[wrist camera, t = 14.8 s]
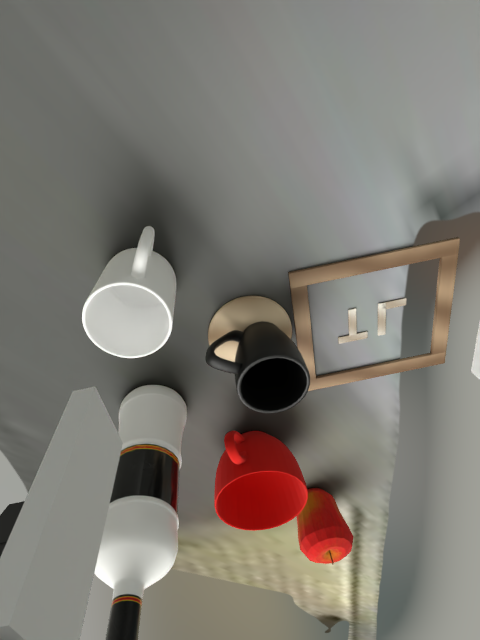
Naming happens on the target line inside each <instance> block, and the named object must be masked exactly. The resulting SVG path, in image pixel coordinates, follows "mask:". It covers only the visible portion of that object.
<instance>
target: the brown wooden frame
mask: <svg viewBox="0 0 480 640" xmlns="http://www.w3.org/2000/svg"><path fill="white" fill-rule="evenodd" d="M459 243H460V238H452V239H447V240H442V241H437V242H433V243H427V244H423V245H418V246H413V247H408V248H403V249H398V250H393V251H388V252H384V253H379V254H374V255H369V256H364V257H359V258H354V259H350V260H345V261H340V262H335V263H330V264H325V265H321V266H316V267H311V268H306V269H301V270H296V271H291V272H288V274H289V282H290V290H291V298H292V307H293V315H294V323H295V331H296V339H297V348H298V350H299V351H300V353H301V355H302V357H303V359H304V361H305V364H306V366H307V368H308V371H309V374H310V386H309V389H308V391H311V390H316V389H321V388H326V387H331V386H335V385H340V384H345V383H350V382H355V381H360V380H365V379H369V378H374V377H379V376H384V375H389V374H394V373H399V372H404V371H408V370H413V369H418V368H423V367H428V366H433V365H438V364H442V363H445V355H446V347H447V339H448V330H449V323H450V314H451V307H452V299H453V291H454V283H455V275H456V267H457V259H458V251H459ZM436 258H440V260H439V270H438V281H437V291H436V301H435V311H434V321H433V331H432V341H431V351H430V353H427V354H423V355H418V356H413V357H408V358H403V359H398V360H393V361H388V362H384V363H379V364H374V365H369V366H364V367H359V368H354V369H349V370H345V371H340V372H335V373H330V374H325V375H320V376H316V375H315V364H314V354H313V344H312V333H311V323H310V312H309V302H308V292H307V285H310V284H315V283H320V282H325V281H330V280H335V279H339V278H344V277H349V276H354V275H359V274H364V273H369V272H373V271H378V270H383V269H388V268H393V267H398V266H402V265H407V264H412V263H417V262H421V261H427V260H431V259H436ZM404 305H406V298H403V299H398V300H393V301H388V302H383V303H378V336H379V335H384V334H385V326H386V309H389V308H394V307H399V306H404ZM348 321H349V335H346V336H342V337H338V343H339V344H340V343H345V342H350V341H355V340H360V339H365V338H367V331H366V332H361V333H357V329H356V308H354V309H349V310H348Z"/></svg>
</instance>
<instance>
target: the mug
mask: <svg viewBox="0 0 480 640" xmlns="http://www.w3.org/2000/svg"><path fill="white" fill-rule="evenodd" d="M228 341H236V342H238V343H239V344H238V347H237V351H236V356H235V362H232V361H229V360H225V359H223V358H220V357H218V356H217V355H216V354H215V352H214V351H215V349H217V348H218V347H219V346H220V345H222V344H223V343H225V342H228ZM206 362H207V364H208V365H210V366H211V367H213V368H215V369H218V370H221V371H225V372H229V373H234V374H235V381H236V388H237V393H238V396H239V398H240V400H241V401H242V402H243V403H244V404H245V405H246V406H247V407H248V408H250V409H252V410H254V411H257V412H261V413H277V412H281V411H285V410H287V409H289V408H291V407H293V406H295V405H296V404H298V403H299V402H300V401H301V400H302V399H303V398H304V397H305V395H306V393H307V392H308V389H309V386H310V374H309V371H308V368H307V366H306V364H305V361H304V359H303V357H302V355H301V353H300V351H299V350H298V348H297V347H296V345H295V344H294V342H293V341H292V340H291V339H290V338H289V337H288V336H287V335H286V334H285V333H284V332H283V331H282V330H280V329H279V328H278V327H277V326H276V325H274V324H273V323H270V322H264V321H261V322H256V323H253V324H251V325H249V326H248V327H247V328H246V329H245V330H244V331H243V332H242V331H239V330H233V331H230V332H228V333H227V334H225V335H223V336H222V337H220V338H219V339H217V340H216V341H214V342H213V343H212V344H211V345H210V346H209V348H208V350H207V352H206Z"/></svg>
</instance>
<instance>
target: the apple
mask: <svg viewBox="0 0 480 640" xmlns="http://www.w3.org/2000/svg"><path fill="white" fill-rule="evenodd" d="M297 523H298V539H299V544H300V550H301V551H302V552H303V553H304V554H305V555H306V557H307V558H308V559H309V560H310V561H313V562H315V563H325V564H327V563H332V564H333V563H334V562H337V561H340V560H341V559H343V558H344V557H345V556H347V555H348V554H349V553H350V552H351V549H352V543H353V535H352V533H351V531H350V529H349V527H348V525H347V524H346V522H345V520H344V519H343V517H342V515H341V513H340V512H339V509H338V507H337V504H336V502H335V500H334V498H333V496H332V495H330V494H329V493H327V492H326V491H324V490H323V489H319V488H311V489H308V499H307V503H306V505H305V507H304V508H303V510H302V511H301V512H300V513H299V514H298V515H297Z"/></svg>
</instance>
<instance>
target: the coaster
mask: <svg viewBox="0 0 480 640" xmlns="http://www.w3.org/2000/svg"><path fill="white" fill-rule="evenodd" d="M261 321H264V322H270V323H273V324H274V325H276V326H277V327H278V328H279V329H280V330H282V331H283V332H284V333H285V334H286V335H287V336H288V337H289V338H290V339H291V337H292V325H291V321H290V319H289V316H288V314H287V313H286V311H285V310H284V309H283V307H281V306H280V305H279V304H278V303H277V302H275V301H273V300H271V299H269V298H266V297H262V296H243V297H239V298H236V299H234V300H231V301H229V302H228V303H226V304H225V305H223V306H222V307H221V308H220V309H219V310H218V311H217V312H216V313H215V315H214V316H213V318H212V320H211V322H210V325H209V329H208V340H209V345H211V344H212V343H213V342H214V341H216V340H217V339H219V338H220V337H222V336H223V335H225V334H227V333H228V332H230V331H233V330H239V331H242V332H243V331H244V330H245V329H246V328H247V327H248V326H249V325H251V324H253V323H256V322H261ZM238 344H239V343H238V342H236V341H228V342H225V343H223V344H222V345H220V346H219V347H218V348H217V349H215V351H214V352H215V354H216V355H217V356H218V357H220V358H223V359H225V360H229V361H232V362H235V356H236V351H237V347H238Z"/></svg>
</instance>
